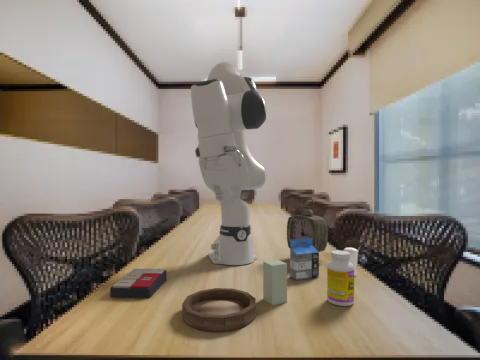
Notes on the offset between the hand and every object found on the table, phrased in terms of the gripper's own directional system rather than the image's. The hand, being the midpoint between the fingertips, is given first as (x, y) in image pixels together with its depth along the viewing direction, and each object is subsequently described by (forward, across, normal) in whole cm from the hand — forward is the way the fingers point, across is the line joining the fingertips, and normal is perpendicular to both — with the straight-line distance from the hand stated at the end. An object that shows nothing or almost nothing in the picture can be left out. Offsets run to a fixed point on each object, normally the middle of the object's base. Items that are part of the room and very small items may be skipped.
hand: (228, 202), depth 73 cm
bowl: (+24, -4, +9) cm, 26 cm away
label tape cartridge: (+33, +7, -25) cm, 42 cm away
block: (+28, -4, -6) cm, 29 cm away
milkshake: (+36, +2, -41) cm, 55 cm away
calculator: (+24, +22, +23) cm, 40 cm away
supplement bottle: (+31, -13, -21) cm, 39 cm away
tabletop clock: (+38, +24, -40) cm, 60 cm away
